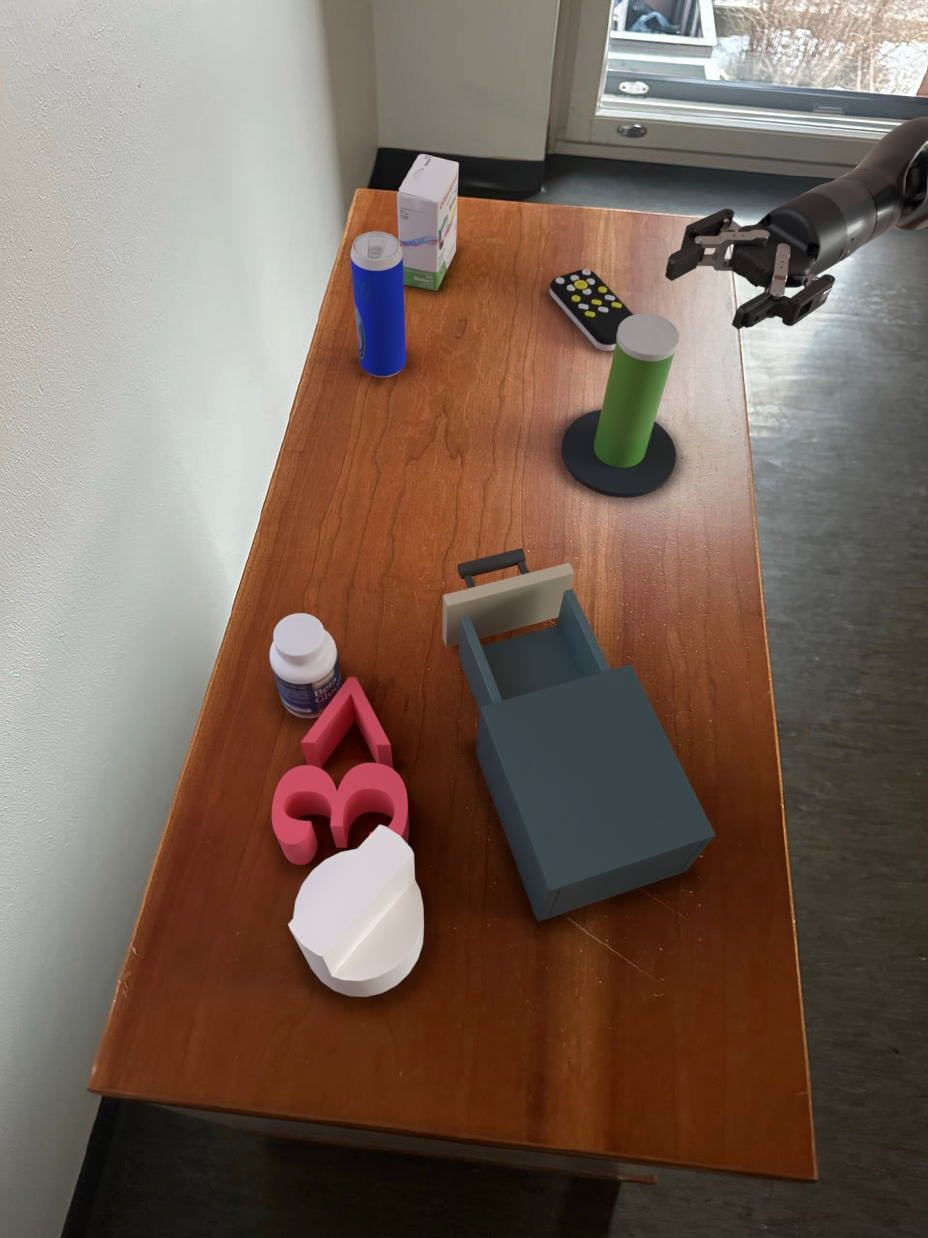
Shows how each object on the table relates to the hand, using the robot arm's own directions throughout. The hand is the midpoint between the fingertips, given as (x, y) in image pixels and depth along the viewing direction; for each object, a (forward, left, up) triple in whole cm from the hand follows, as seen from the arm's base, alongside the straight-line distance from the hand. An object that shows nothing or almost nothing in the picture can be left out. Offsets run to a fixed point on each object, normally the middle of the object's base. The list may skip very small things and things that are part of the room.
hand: (702, 294), depth 82 cm
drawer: (+25, +23, -16) cm, 38 cm away
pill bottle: (+43, +20, -17) cm, 51 cm away
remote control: (0, -19, -17) cm, 25 cm away
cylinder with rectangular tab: (+44, +41, -17) cm, 63 cm away
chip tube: (+6, +2, -16) cm, 17 cm away
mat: (+6, +2, -17) cm, 18 cm away
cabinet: (+25, +37, -17) cm, 48 cm away
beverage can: (+26, -18, -17) cm, 36 cm away
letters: (+42, +29, -17) cm, 54 cm away
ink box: (+16, -33, -17) cm, 40 cm away
